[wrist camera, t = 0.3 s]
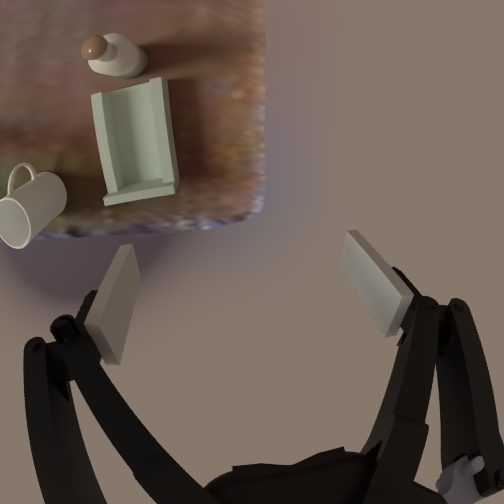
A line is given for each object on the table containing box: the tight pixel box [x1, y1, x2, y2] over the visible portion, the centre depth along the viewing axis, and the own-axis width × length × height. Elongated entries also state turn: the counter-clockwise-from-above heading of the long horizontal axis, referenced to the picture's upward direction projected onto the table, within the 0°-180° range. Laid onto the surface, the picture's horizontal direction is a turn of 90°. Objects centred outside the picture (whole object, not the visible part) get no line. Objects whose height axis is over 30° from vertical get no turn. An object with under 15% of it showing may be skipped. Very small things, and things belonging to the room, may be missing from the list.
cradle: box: [91, 77, 180, 206], centre depth 33 cm, size 16×10×6 cm, turn 4°
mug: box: [0, 163, 67, 248], centre depth 32 cm, size 12×8×12 cm
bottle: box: [81, 33, 148, 79], centre depth 24 cm, size 5×5×14 cm
